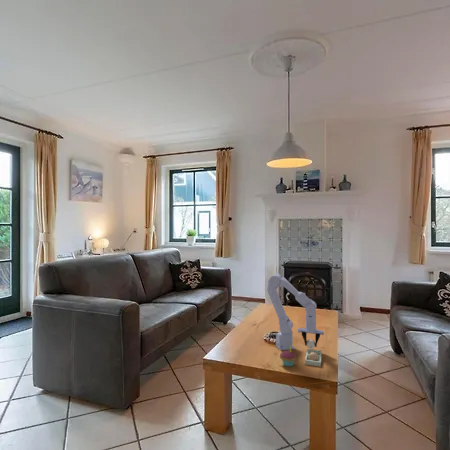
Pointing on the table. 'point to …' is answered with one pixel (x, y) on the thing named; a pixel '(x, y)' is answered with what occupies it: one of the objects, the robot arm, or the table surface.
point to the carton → (310, 362)
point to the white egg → (310, 343)
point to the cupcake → (288, 357)
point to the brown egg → (313, 356)
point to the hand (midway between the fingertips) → (310, 345)
